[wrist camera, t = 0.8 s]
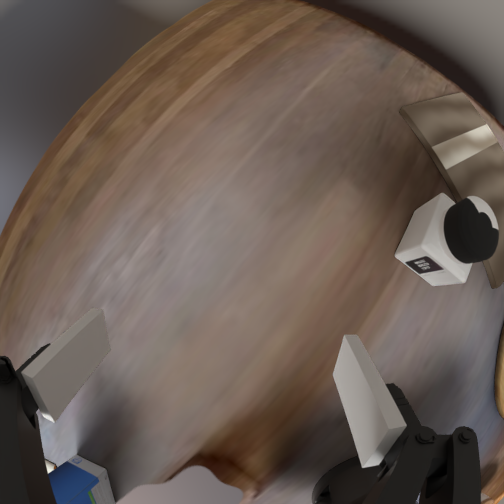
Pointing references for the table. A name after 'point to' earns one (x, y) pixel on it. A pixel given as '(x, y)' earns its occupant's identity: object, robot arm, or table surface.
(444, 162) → the board
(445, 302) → the table surface
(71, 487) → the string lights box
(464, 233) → the container
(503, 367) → the wooden plate with food
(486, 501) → the lidded jar
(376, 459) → the robot arm
